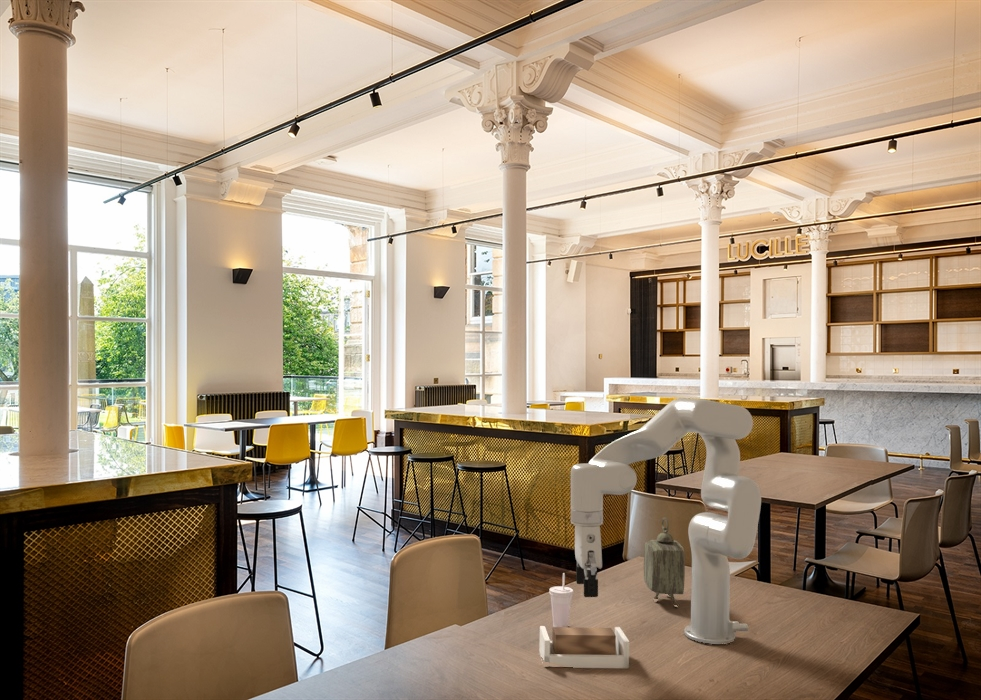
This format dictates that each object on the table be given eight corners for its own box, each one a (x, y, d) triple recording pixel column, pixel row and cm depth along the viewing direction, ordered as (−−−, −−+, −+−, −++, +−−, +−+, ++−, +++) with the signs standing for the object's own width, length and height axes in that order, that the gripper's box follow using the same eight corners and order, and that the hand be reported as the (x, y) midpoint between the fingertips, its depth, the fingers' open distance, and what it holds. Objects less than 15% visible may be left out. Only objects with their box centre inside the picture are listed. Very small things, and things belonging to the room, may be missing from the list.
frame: (619, 652, 170) (619, 627, 170) (628, 668, 160) (629, 641, 161) (539, 651, 169) (539, 626, 169) (544, 667, 159) (544, 640, 160)
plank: (610, 647, 168) (611, 627, 168) (615, 655, 163) (615, 635, 163) (552, 646, 167) (552, 627, 167) (555, 654, 162) (555, 634, 162)
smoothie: (571, 631, 183) (572, 577, 183) (546, 629, 184) (548, 575, 185) (573, 623, 189) (574, 570, 190) (549, 621, 190) (551, 568, 191)
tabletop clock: (684, 610, 203) (685, 523, 204) (652, 609, 203) (654, 522, 204) (671, 595, 217) (673, 513, 218) (642, 594, 217) (644, 512, 218)
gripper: (610, 524, 158) (610, 602, 157) (595, 509, 175) (595, 578, 174) (577, 525, 157) (577, 602, 157) (565, 509, 174) (565, 579, 174)
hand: (586, 590), depth 166 cm, fingers open, 9 cm apart
